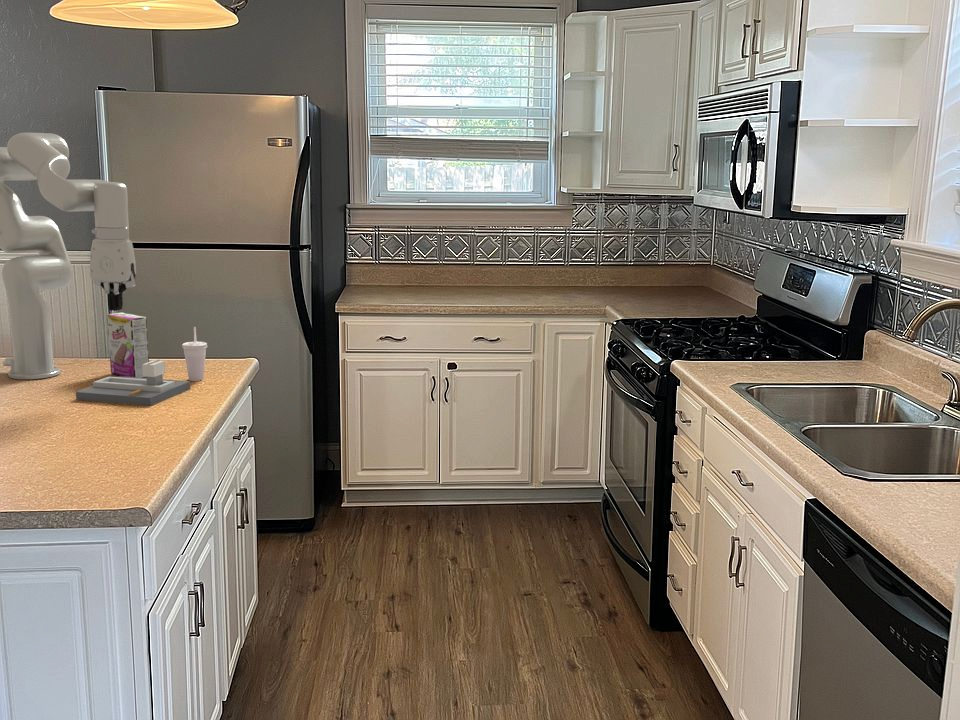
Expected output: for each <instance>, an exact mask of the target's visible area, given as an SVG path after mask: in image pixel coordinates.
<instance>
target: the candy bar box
mask: <svg viewBox="0 0 960 720" xmlns="http://www.w3.org/2000/svg"><path fill="white" fill-rule="evenodd" d="M106 320H107V323H106V324H107V335H108V348H109V349H108V351H109V363H110V374H111V375H115V376H118V377H119V376H126V377H139V378H146V377H145V376H143V365H142V364H145V363H148V362H150V357H149V355H150V354H149V340H148V339H149V337H148V321H147V317H146V316H142V315H137V314H132V313H128V312H127V313H126V312H114V313H109V314H106Z"/></svg>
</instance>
